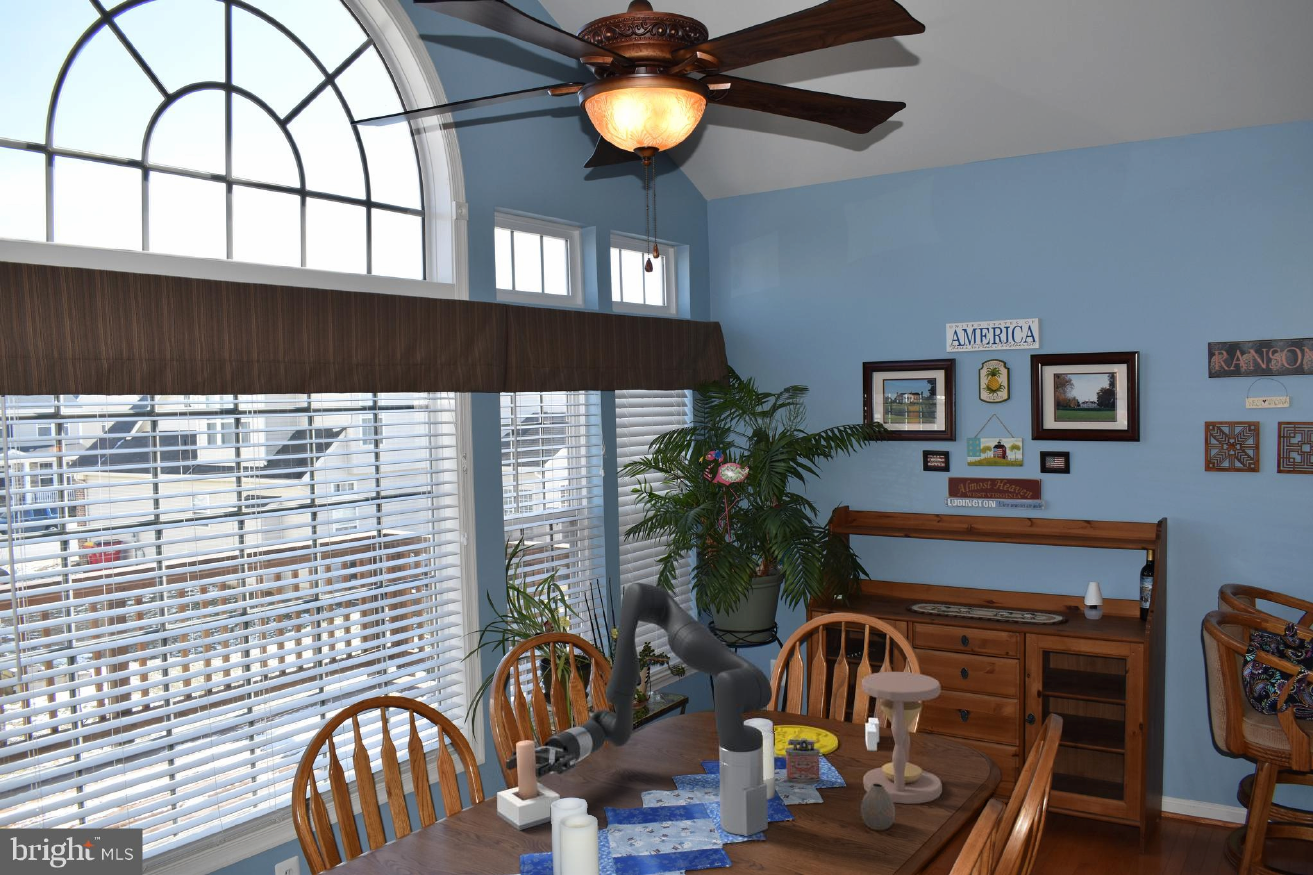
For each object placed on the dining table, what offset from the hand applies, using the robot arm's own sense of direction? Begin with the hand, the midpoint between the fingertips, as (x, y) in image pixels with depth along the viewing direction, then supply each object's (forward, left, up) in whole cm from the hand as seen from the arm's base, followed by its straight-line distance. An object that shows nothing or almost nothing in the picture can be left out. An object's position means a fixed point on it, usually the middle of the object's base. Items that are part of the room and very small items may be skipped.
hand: (521, 769), depth 207 cm
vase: (-50, -57, -11) cm, 77 cm away
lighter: (-22, -63, -11) cm, 68 cm away
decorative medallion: (-1, -80, -12) cm, 81 cm away
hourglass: (-40, -77, -11) cm, 88 cm away
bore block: (+1, -2, -11) cm, 11 cm away
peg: (+1, -2, -10) cm, 10 cm away
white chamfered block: (-15, -96, -12) cm, 98 cm away
